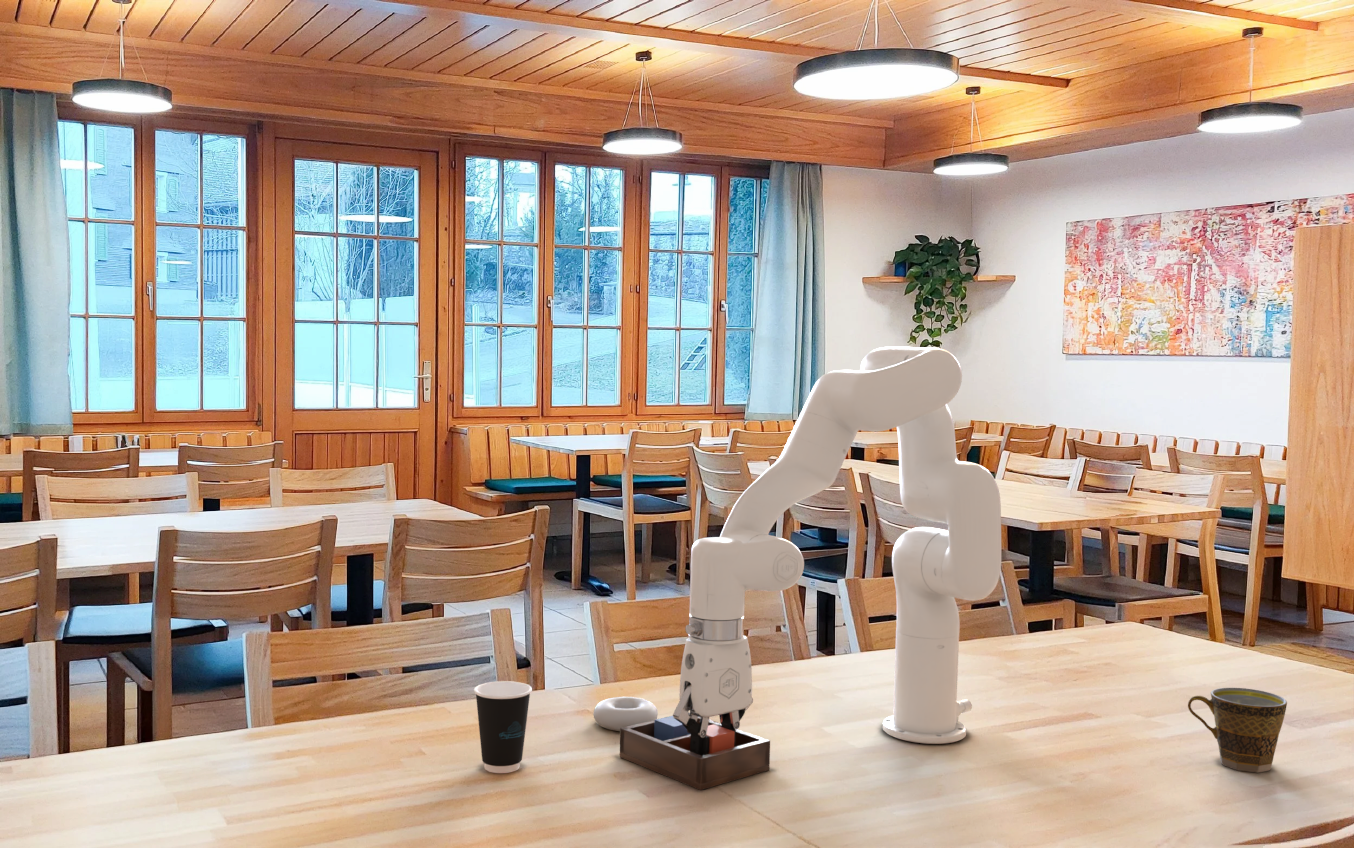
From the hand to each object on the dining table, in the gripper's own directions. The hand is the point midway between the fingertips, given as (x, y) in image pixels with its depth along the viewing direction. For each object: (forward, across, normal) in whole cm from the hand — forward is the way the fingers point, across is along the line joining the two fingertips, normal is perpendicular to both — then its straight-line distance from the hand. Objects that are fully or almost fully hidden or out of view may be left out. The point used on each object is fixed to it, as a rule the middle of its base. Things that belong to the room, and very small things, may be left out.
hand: (712, 758), depth 171 cm
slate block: (+1, 0, +8) cm, 8 cm away
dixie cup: (+2, -22, +19) cm, 29 cm away
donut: (+2, +4, +24) cm, 24 cm away
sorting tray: (+2, 0, +4) cm, 4 cm away
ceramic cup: (+2, +62, -44) cm, 76 cm away
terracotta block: (0, 0, 0) cm, 0 cm away
